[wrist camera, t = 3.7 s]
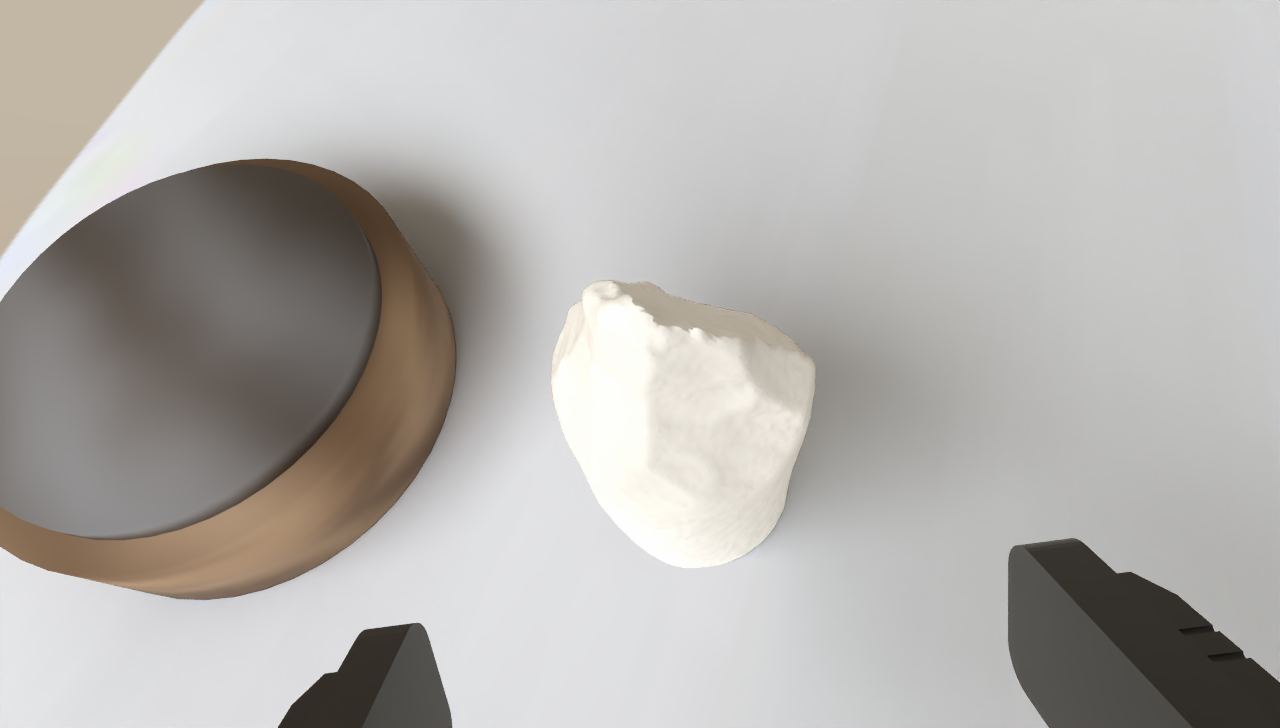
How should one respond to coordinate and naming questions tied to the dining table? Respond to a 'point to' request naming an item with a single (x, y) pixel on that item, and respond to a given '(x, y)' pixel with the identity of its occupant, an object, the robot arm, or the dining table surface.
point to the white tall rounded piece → (681, 418)
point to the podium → (217, 382)
